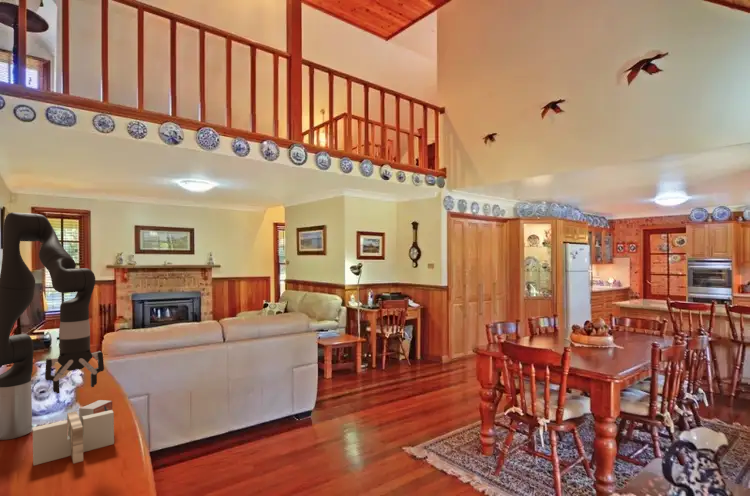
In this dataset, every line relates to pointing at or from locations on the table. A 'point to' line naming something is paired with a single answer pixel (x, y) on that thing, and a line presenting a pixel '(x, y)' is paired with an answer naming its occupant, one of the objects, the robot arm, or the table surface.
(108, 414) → the notched board
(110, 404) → the small box
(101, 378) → the table surface
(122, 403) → the table surface
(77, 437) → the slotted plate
